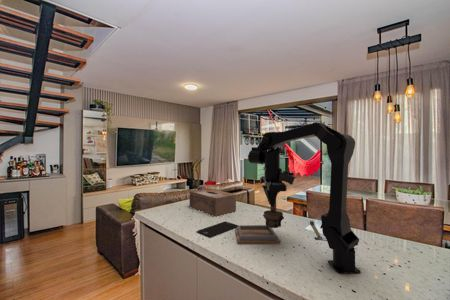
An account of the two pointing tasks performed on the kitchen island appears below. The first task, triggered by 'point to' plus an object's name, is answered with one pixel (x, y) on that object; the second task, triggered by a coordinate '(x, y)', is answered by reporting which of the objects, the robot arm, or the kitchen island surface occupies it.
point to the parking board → (256, 232)
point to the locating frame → (256, 237)
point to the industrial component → (273, 217)
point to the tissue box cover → (213, 201)
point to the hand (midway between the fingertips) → (271, 205)
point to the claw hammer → (316, 232)
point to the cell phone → (217, 229)
